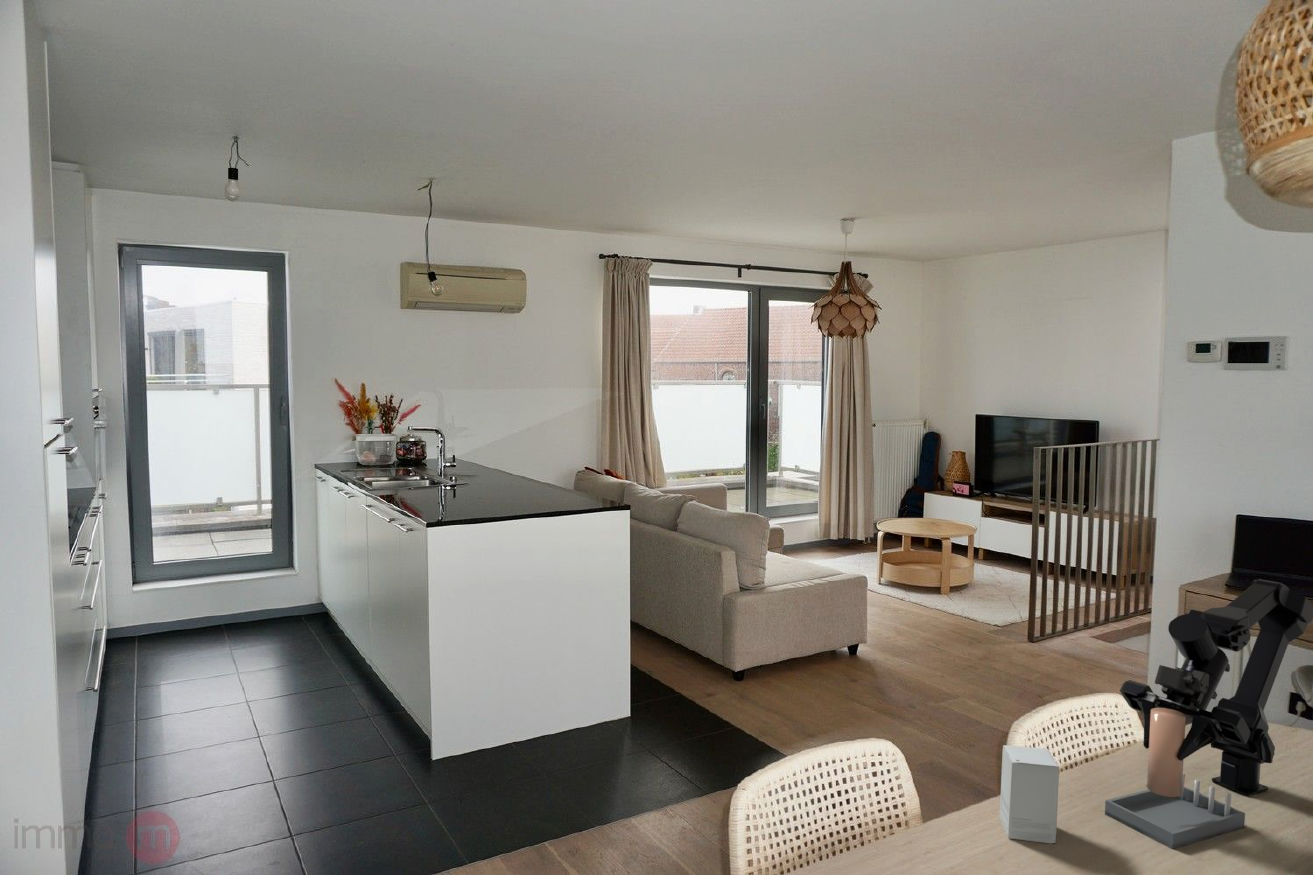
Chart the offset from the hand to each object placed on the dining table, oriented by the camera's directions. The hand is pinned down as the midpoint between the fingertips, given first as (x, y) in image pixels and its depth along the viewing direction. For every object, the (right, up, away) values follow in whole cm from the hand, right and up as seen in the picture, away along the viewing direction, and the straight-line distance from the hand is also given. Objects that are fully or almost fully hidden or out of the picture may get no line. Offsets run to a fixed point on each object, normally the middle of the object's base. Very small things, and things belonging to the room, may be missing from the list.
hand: (1161, 752), depth 143 cm
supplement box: (-23, -12, -2) cm, 26 cm away
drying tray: (+4, -12, +3) cm, 13 cm away
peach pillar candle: (+1, -7, +1) cm, 7 cm away
